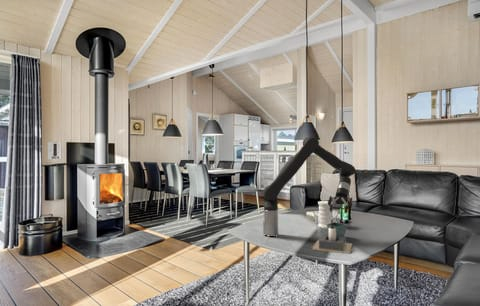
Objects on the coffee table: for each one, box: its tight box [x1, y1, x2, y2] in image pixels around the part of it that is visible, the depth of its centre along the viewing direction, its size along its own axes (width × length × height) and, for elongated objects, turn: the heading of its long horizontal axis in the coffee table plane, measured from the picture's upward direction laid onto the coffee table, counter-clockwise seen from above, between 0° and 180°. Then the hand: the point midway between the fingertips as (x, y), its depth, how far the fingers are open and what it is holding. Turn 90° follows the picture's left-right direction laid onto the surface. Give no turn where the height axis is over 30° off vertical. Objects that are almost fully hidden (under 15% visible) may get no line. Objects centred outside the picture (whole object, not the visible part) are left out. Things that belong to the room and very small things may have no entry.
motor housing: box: [311, 234, 353, 255], centre depth 172 cm, size 20×16×5 cm
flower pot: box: [326, 221, 347, 237], centre depth 191 cm, size 9×9×9 cm
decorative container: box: [317, 200, 334, 229], centre depth 222 cm, size 12×12×18 cm
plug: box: [327, 220, 336, 241], centre depth 173 cm, size 4×4×15 cm
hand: (338, 211), depth 182 cm, fingers open, 8 cm apart
